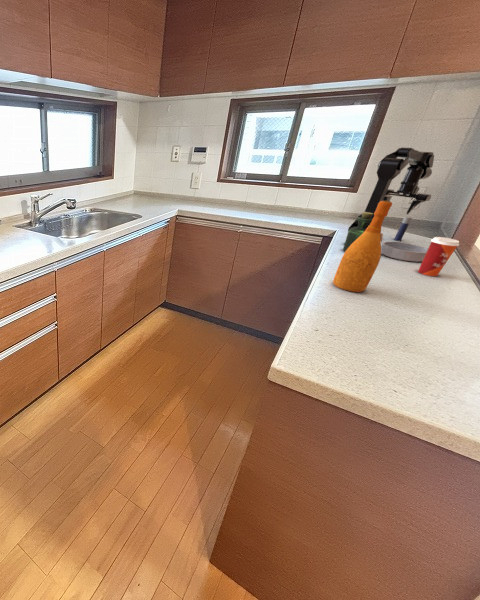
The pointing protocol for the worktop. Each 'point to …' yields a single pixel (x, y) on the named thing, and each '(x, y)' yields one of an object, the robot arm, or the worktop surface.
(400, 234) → the rod
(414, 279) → the worktop surface
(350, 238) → the potion bottle
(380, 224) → the wine bottle
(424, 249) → the dish
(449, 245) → the paper cup
